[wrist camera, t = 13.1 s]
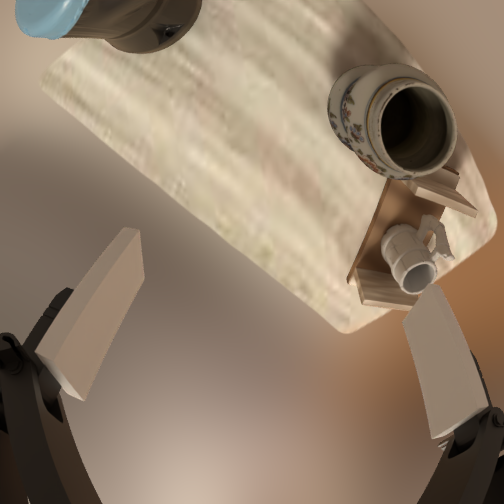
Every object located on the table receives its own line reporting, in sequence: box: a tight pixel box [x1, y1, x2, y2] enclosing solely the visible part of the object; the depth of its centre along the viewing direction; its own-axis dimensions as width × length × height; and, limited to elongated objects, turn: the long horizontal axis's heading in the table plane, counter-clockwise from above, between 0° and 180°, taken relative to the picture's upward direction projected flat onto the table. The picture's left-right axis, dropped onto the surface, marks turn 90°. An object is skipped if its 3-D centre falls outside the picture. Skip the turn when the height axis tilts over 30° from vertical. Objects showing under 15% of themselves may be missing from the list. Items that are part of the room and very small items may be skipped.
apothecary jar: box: [327, 63, 457, 180], centre depth 25 cm, size 12×12×18 cm
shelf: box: [347, 165, 478, 311], centre depth 39 cm, size 26×12×10 cm, turn 171°
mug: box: [381, 215, 455, 295], centre depth 37 cm, size 8×12×12 cm, turn 155°
